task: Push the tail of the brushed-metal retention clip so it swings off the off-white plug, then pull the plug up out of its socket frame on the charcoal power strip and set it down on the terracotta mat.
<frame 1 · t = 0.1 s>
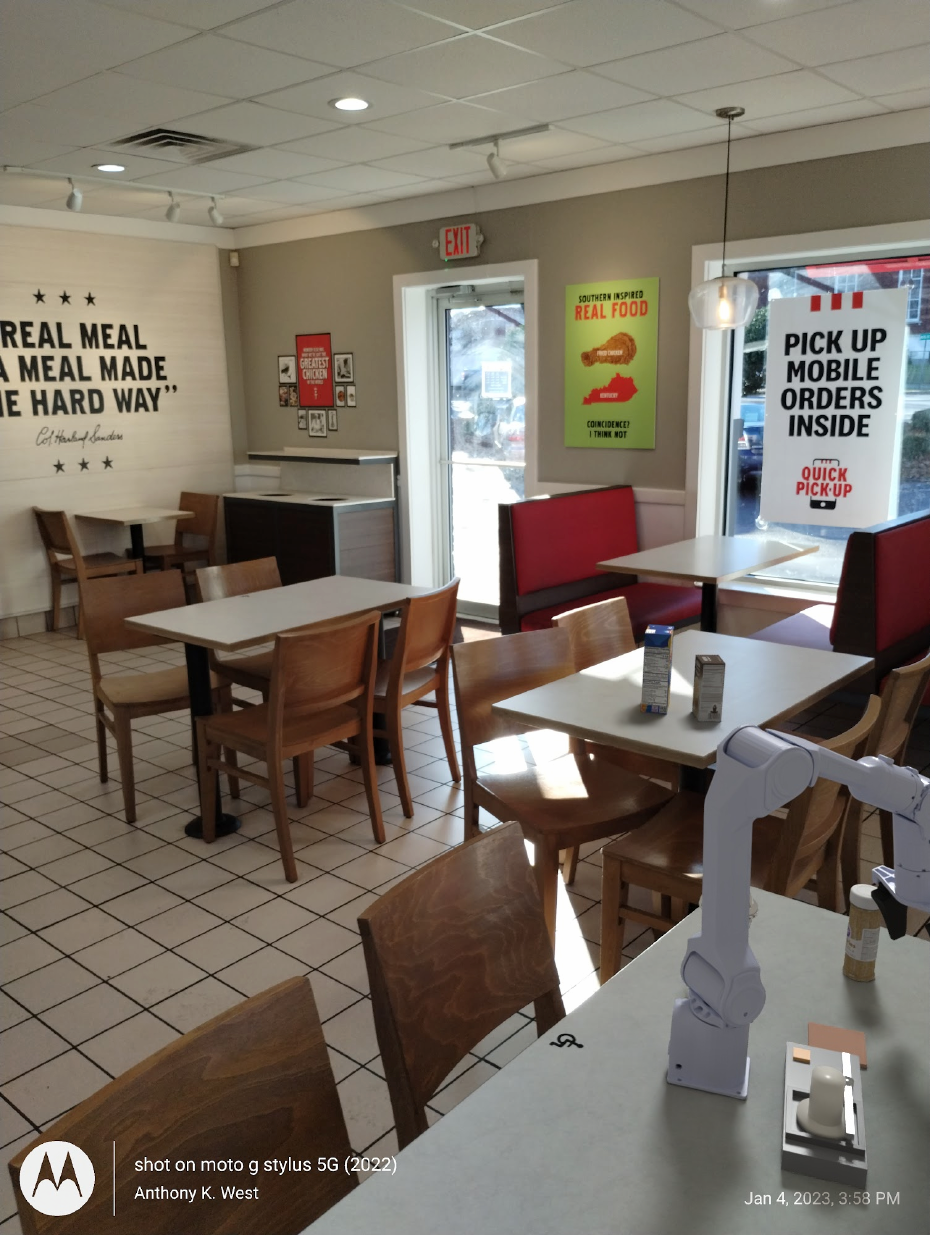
hand: (919, 951, 134), 11 cm above the table, tool pointing down, fingers open, 7 cm apart
coffee box: (706, 717, 268), on the table
beverage box: (655, 708, 275), on the table
mat: (836, 1046, 131), on the table
sprinkles bottle: (858, 975, 147), on the table
power strip: (821, 1118, 117), on the table
plug: (824, 1122, 113), point 3 cm above the table, touching power strip
cup with straw: (723, 969, 148), on the table
clip: (847, 1096, 115), point 4 cm above the table, hinge at 0.0°
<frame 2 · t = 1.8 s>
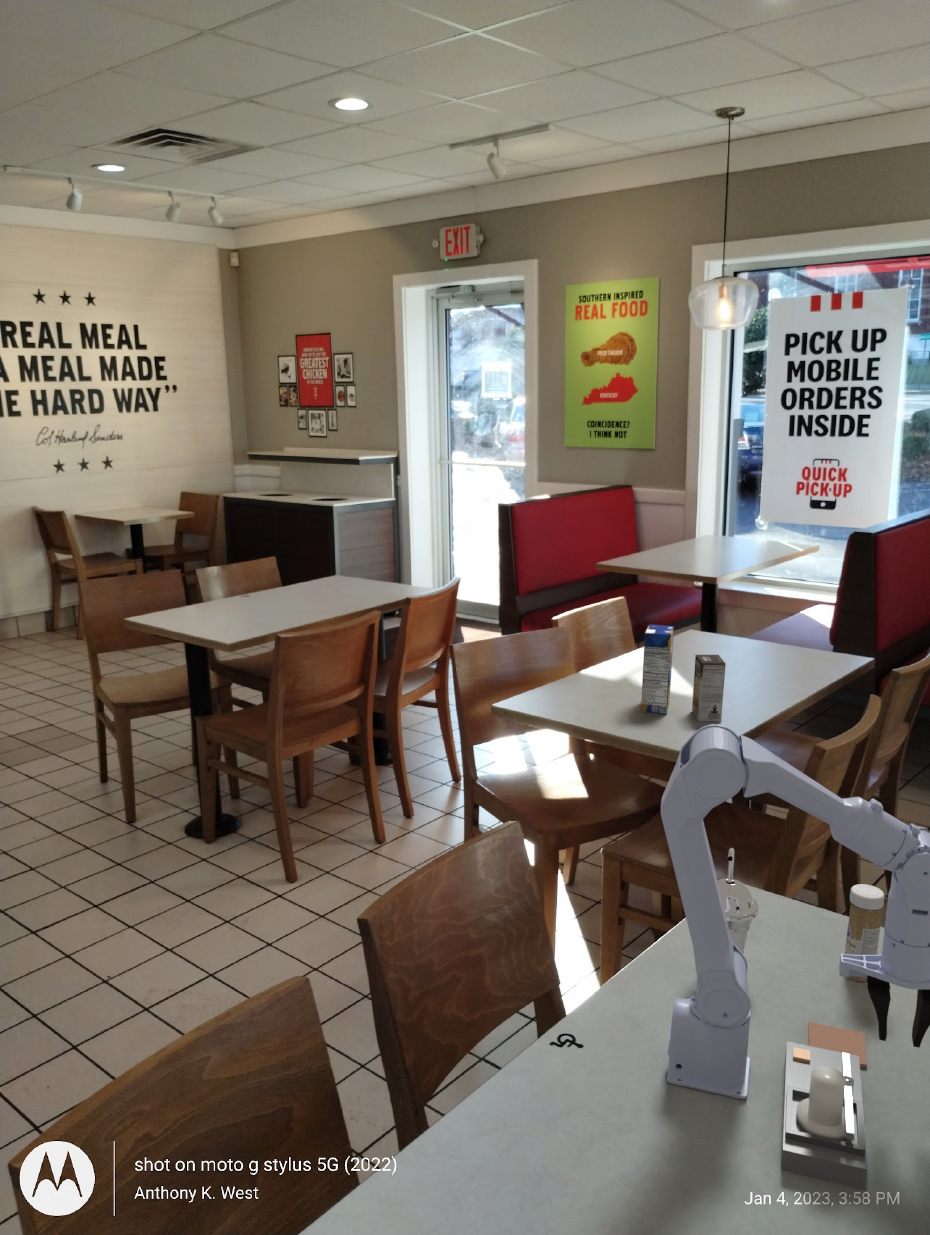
hand: (898, 1038, 119), 8 cm above the table, tool pointing down, fingers open, 3 cm apart
nothing on the table moved.
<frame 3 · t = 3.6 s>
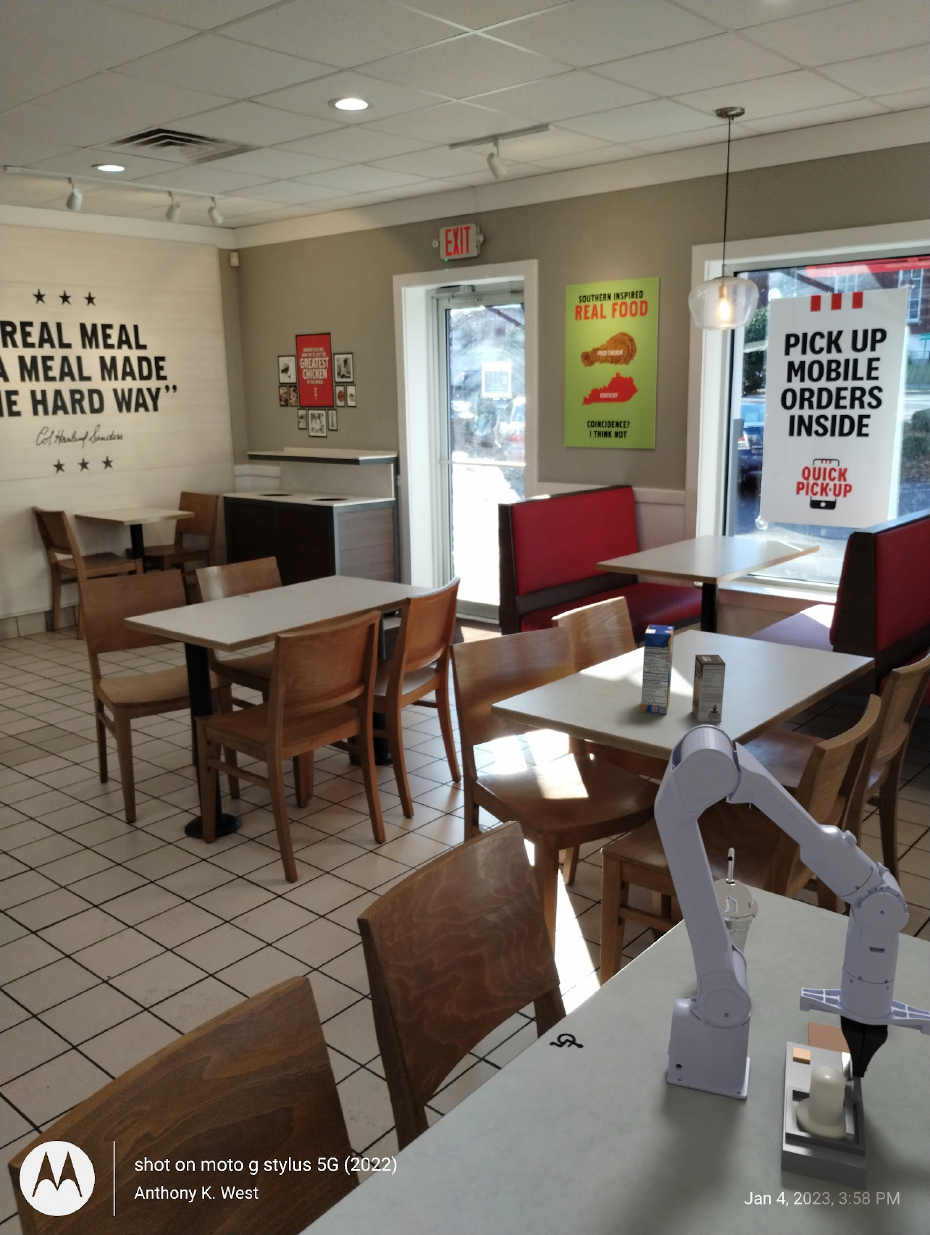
hand: (857, 1071, 121), 3 cm above the table, tool pointing down, fingers closed, pressing on clip
clip: (847, 1096, 115), point 4 cm above the table, hinge at 0.0°, touching gripper
everything else where it was.
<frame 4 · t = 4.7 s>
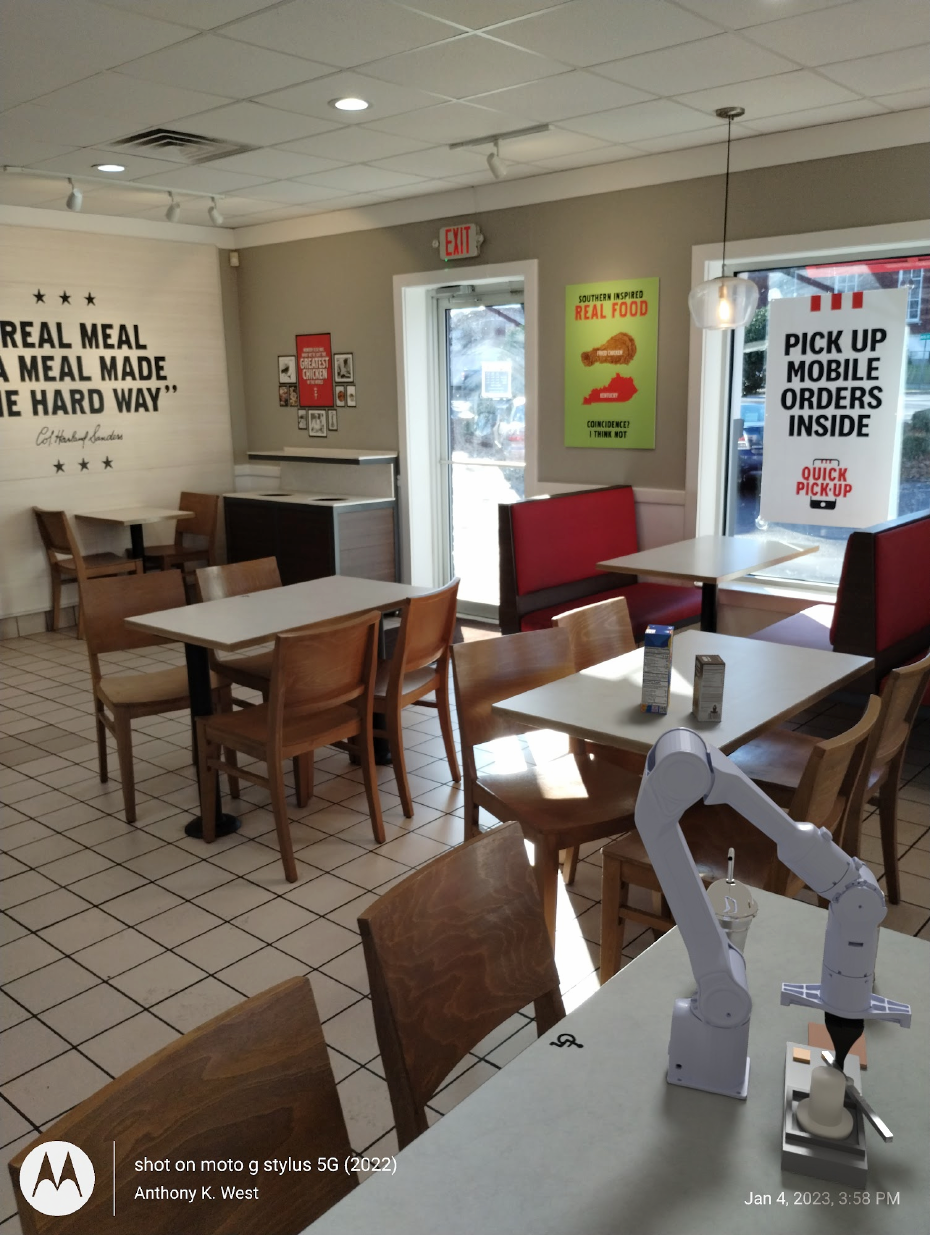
hand: (838, 1065, 122), 3 cm above the table, tool pointing down, fingers closed, pressing on clip
clip: (854, 1097, 115), point 4 cm above the table, hinge at 26.5°, touching gripper
everything else where it was.
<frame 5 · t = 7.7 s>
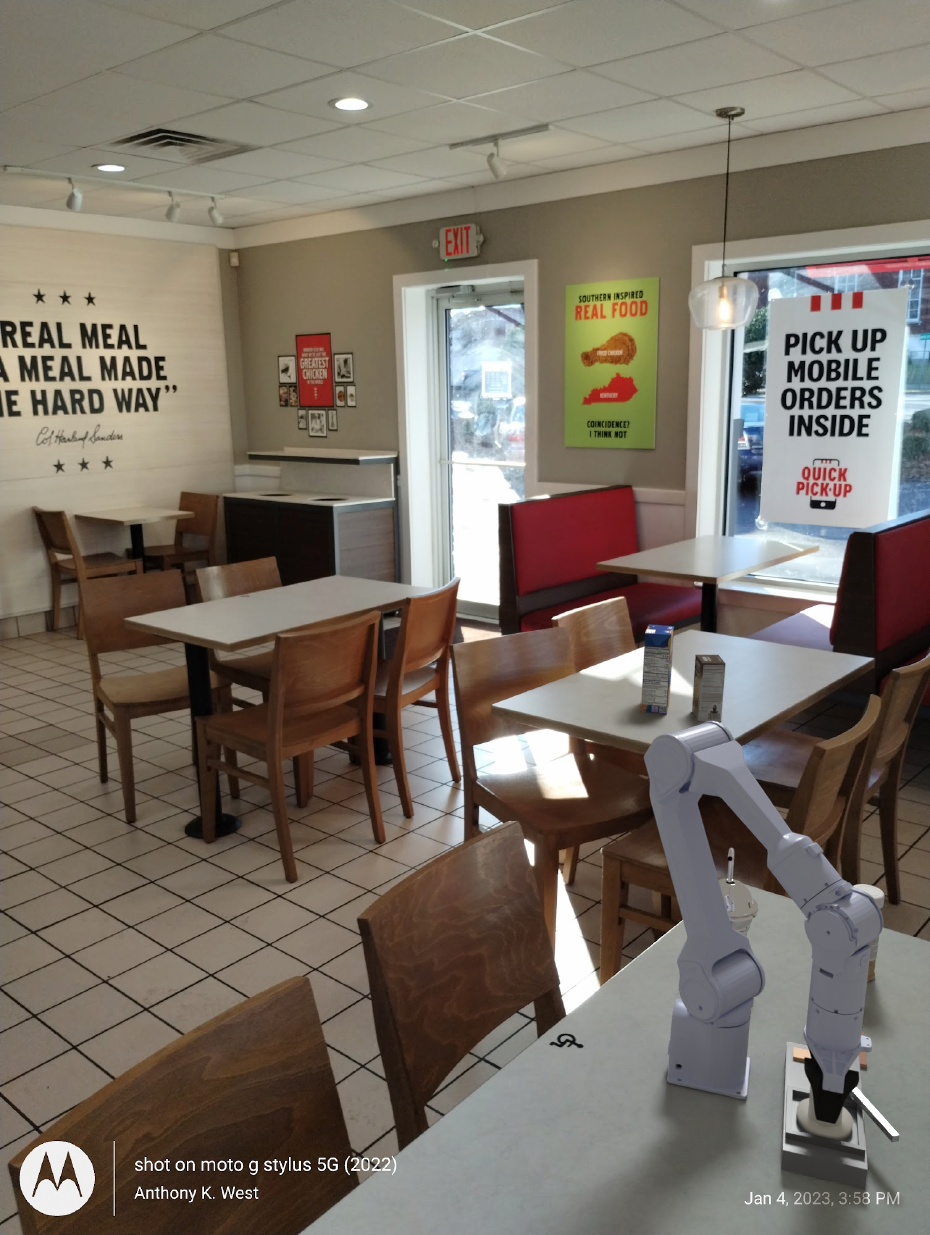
hand: (825, 1107, 113), 4 cm above the table, tool pointing down, fingers closed on plug, 4 cm apart
plug: (824, 1122, 113), point 3 cm above the table, touching gripper, power strip
clip: (855, 1097, 115), point 4 cm above the table, hinge at 31.2°
everything else where it was.
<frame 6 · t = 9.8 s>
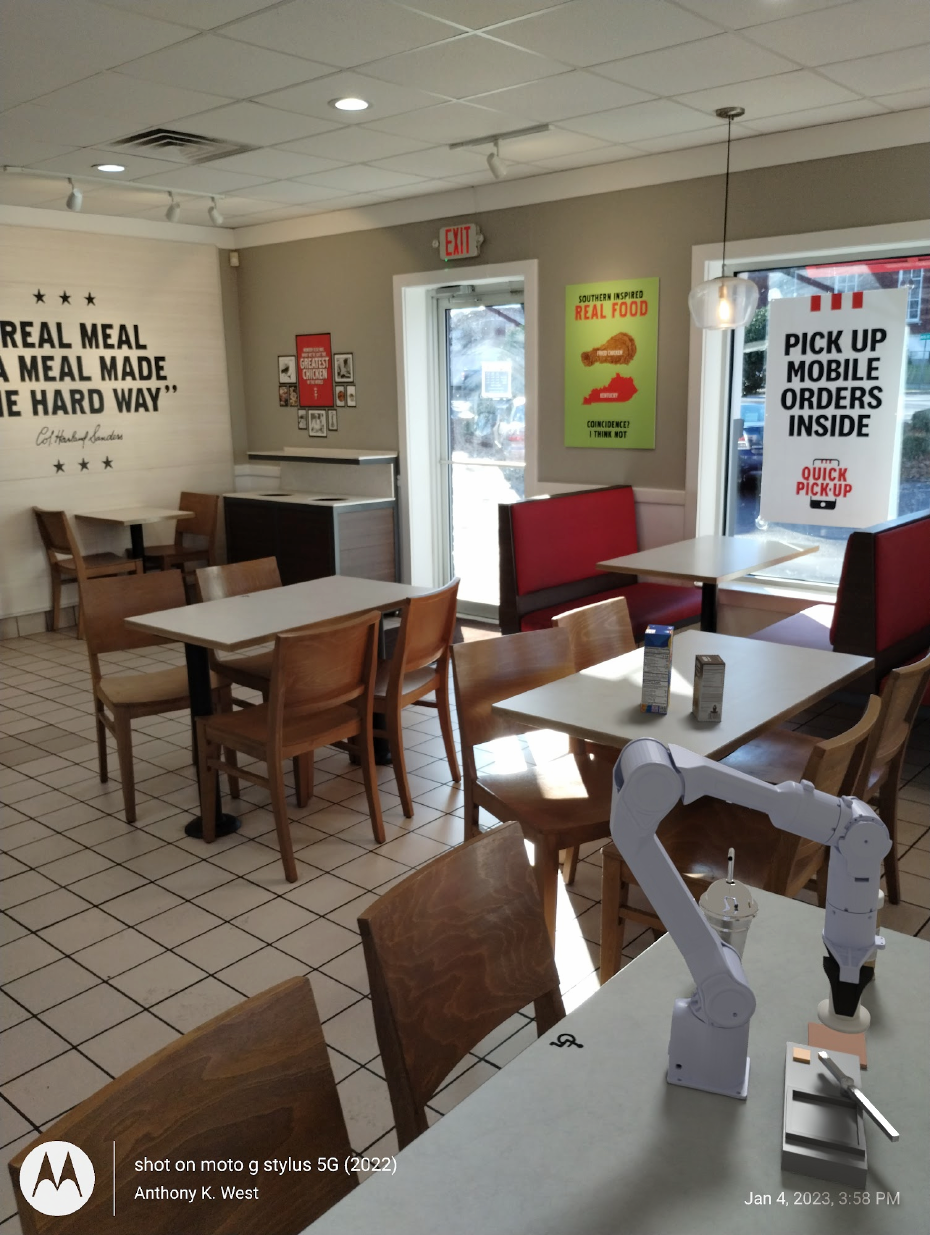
hand: (843, 1004, 122), 10 cm above the table, tool pointing down, fingers closed on plug, 4 cm apart
plug: (843, 1018, 122), point 9 cm above the table, touching gripper
everything else where it was.
when the fingers open (3 cm above the table, at t = 12.0 s): plug drops 1 cm, resting on mat.
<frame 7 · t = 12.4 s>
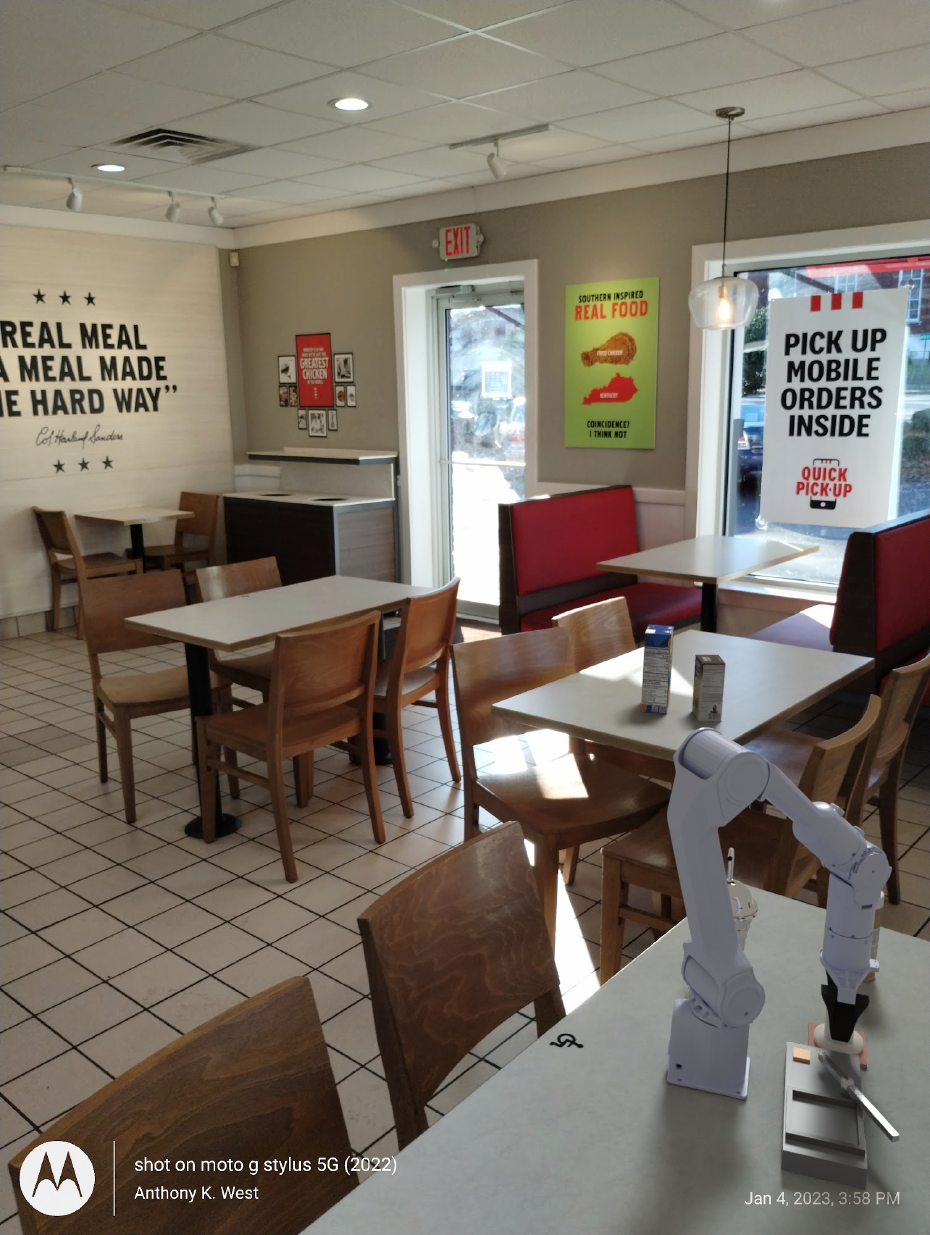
hand: (839, 1022, 130), 3 cm above the table, tool pointing down, fingers open, 7 cm apart
plug: (837, 1042, 130), resting on mat
everything else where it was.
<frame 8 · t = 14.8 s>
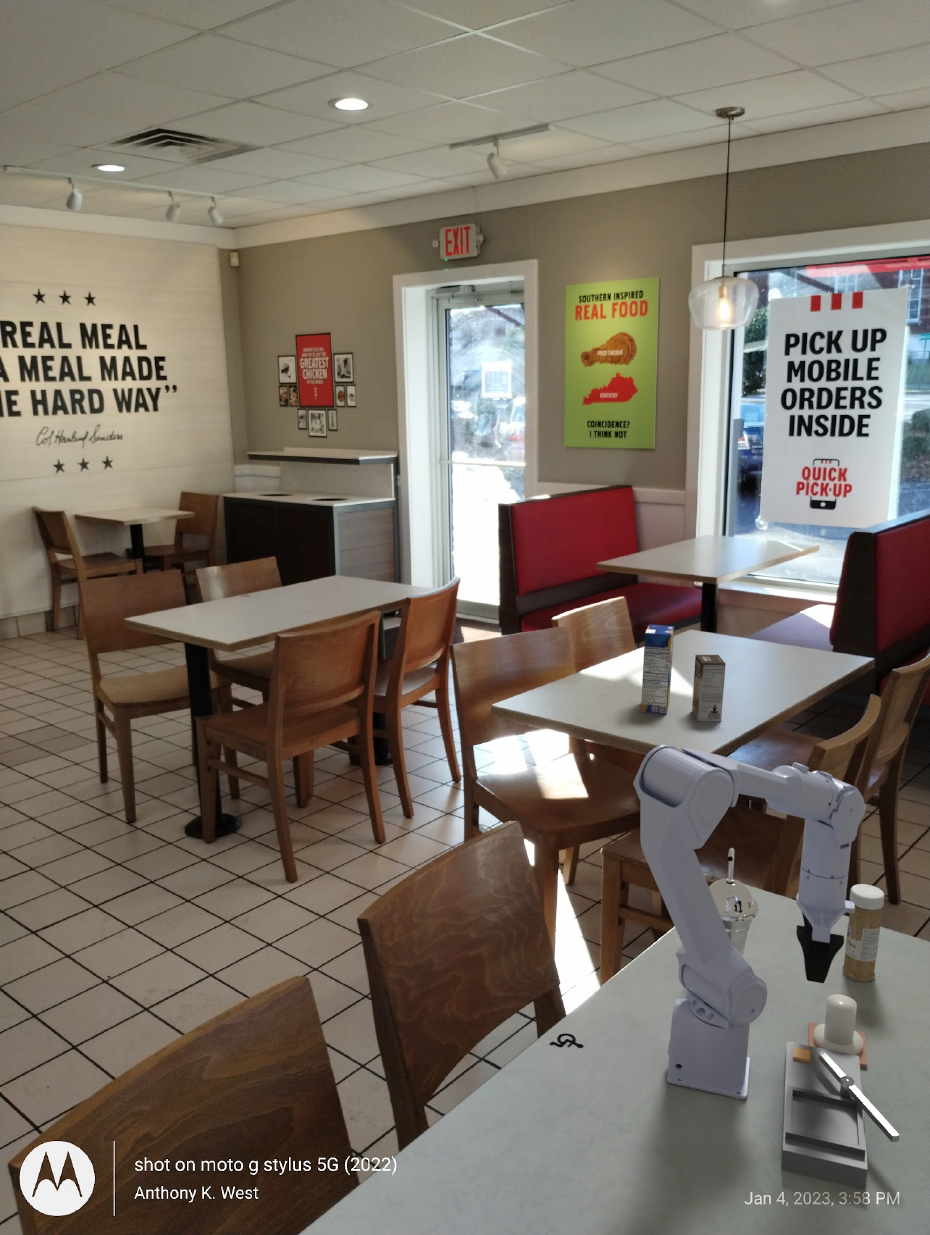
hand: (815, 964, 130), 10 cm above the table, tool pointing down, fingers open, 7 cm apart
nothing on the table moved.
at the end: plug 0.1 cm off-centre on the mat, point 0.5 cm above the mat's base; plug tilted 0°; clip at +31° (first picture: +0°) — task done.
